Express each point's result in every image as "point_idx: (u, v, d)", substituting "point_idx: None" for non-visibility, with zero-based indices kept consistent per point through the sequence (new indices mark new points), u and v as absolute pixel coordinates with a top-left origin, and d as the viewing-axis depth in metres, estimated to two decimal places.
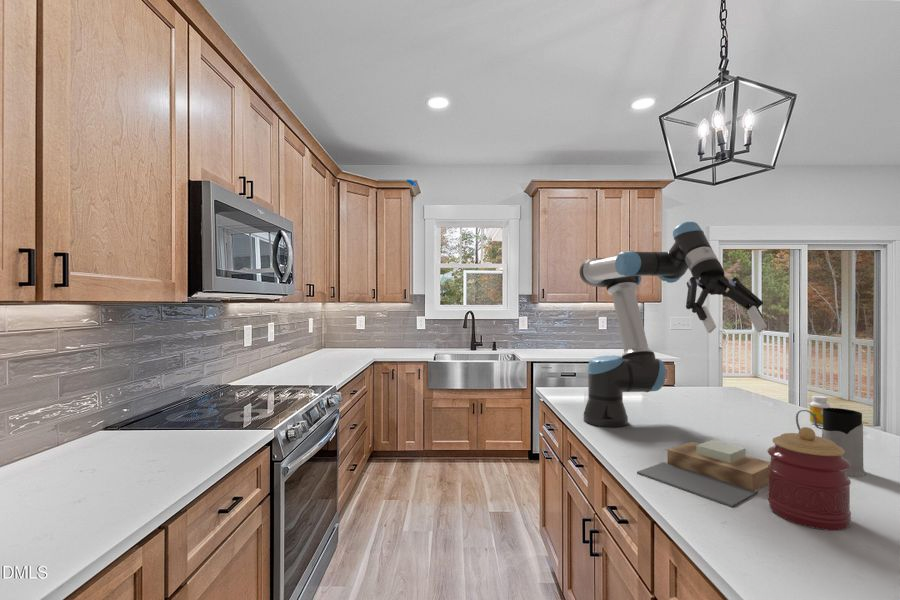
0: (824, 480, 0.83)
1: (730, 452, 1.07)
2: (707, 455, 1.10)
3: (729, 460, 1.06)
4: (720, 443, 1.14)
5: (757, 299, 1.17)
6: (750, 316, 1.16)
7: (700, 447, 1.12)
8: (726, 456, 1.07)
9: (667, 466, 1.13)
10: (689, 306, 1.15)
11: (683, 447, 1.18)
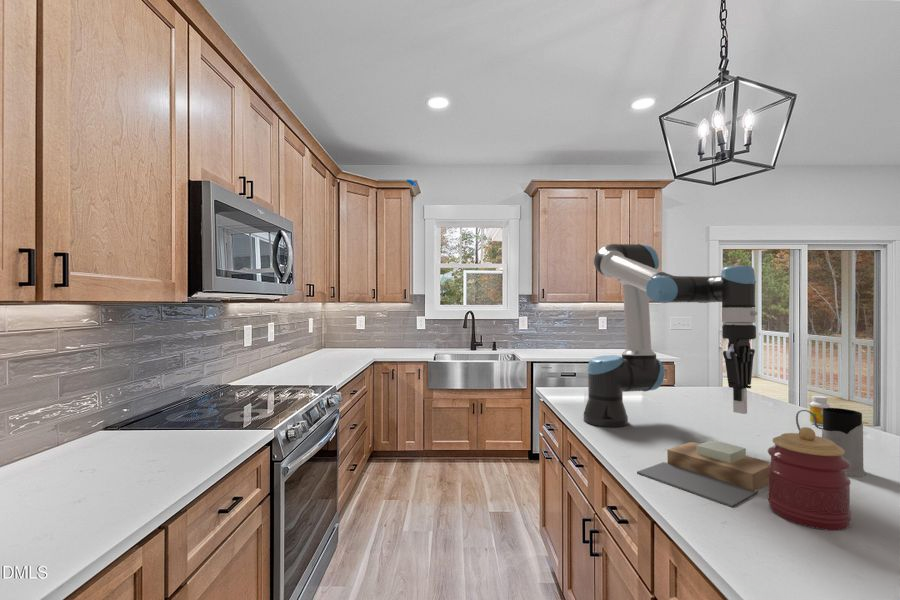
0: (824, 480, 0.83)
1: (730, 452, 1.07)
2: (707, 455, 1.10)
3: (729, 460, 1.06)
4: (720, 443, 1.14)
5: (750, 378, 1.18)
6: None
7: (700, 447, 1.12)
8: (726, 456, 1.07)
9: (667, 466, 1.13)
10: (733, 386, 1.15)
11: (683, 447, 1.18)
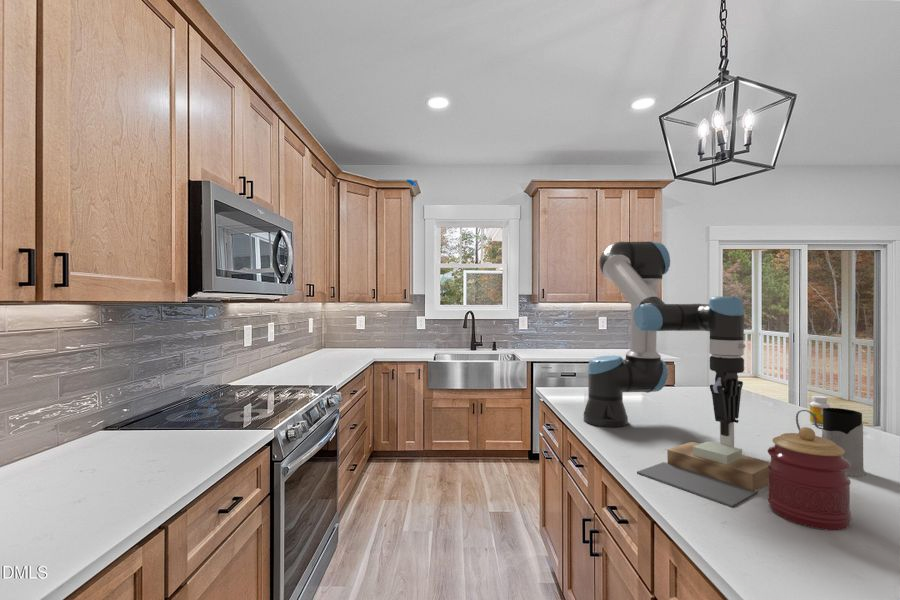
0: (824, 480, 0.83)
1: (727, 453, 1.06)
2: (703, 456, 1.09)
3: (726, 461, 1.05)
4: (717, 444, 1.13)
5: (737, 412, 1.14)
6: None
7: (696, 448, 1.11)
8: (722, 458, 1.06)
9: (667, 466, 1.13)
10: None
11: (683, 447, 1.18)
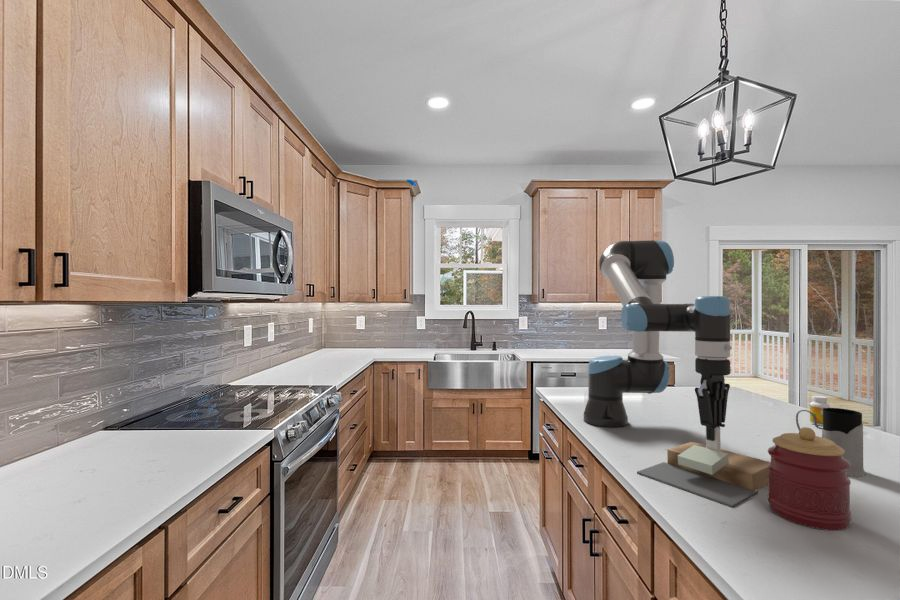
0: (824, 480, 0.83)
1: (712, 462, 1.02)
2: (689, 466, 1.05)
3: (711, 471, 1.01)
4: (702, 449, 1.09)
5: (724, 416, 1.10)
6: None
7: (681, 457, 1.07)
8: (708, 468, 1.02)
9: (667, 466, 1.13)
10: None
11: (683, 447, 1.18)
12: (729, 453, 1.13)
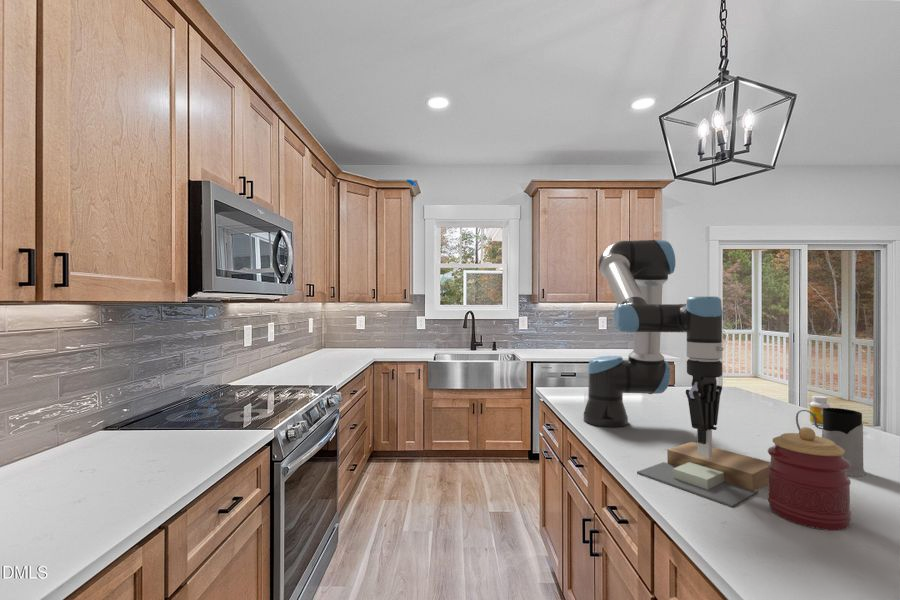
0: (824, 480, 0.83)
1: (707, 477, 1.01)
2: (684, 479, 1.04)
3: (706, 486, 1.00)
4: (698, 466, 1.08)
5: (716, 418, 1.08)
6: None
7: (676, 471, 1.05)
8: (703, 482, 1.00)
9: (667, 466, 1.13)
10: None
11: (683, 447, 1.18)
12: (729, 453, 1.13)
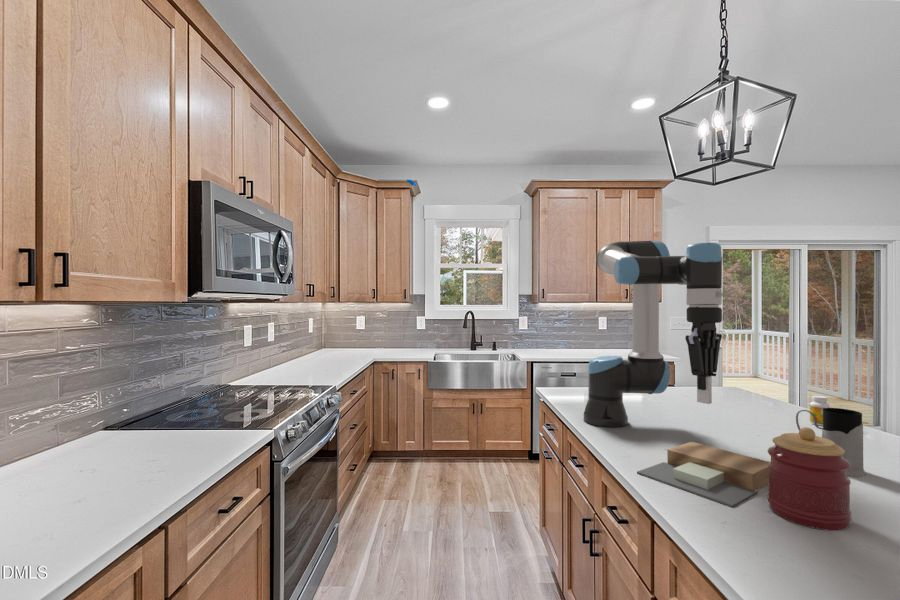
0: (824, 480, 0.83)
1: (707, 477, 1.01)
2: (684, 479, 1.04)
3: (706, 486, 1.00)
4: (698, 466, 1.08)
5: (715, 366, 1.08)
6: None
7: (676, 471, 1.05)
8: (703, 482, 1.00)
9: (667, 466, 1.13)
10: (697, 374, 1.06)
11: (683, 447, 1.18)
12: (729, 453, 1.13)
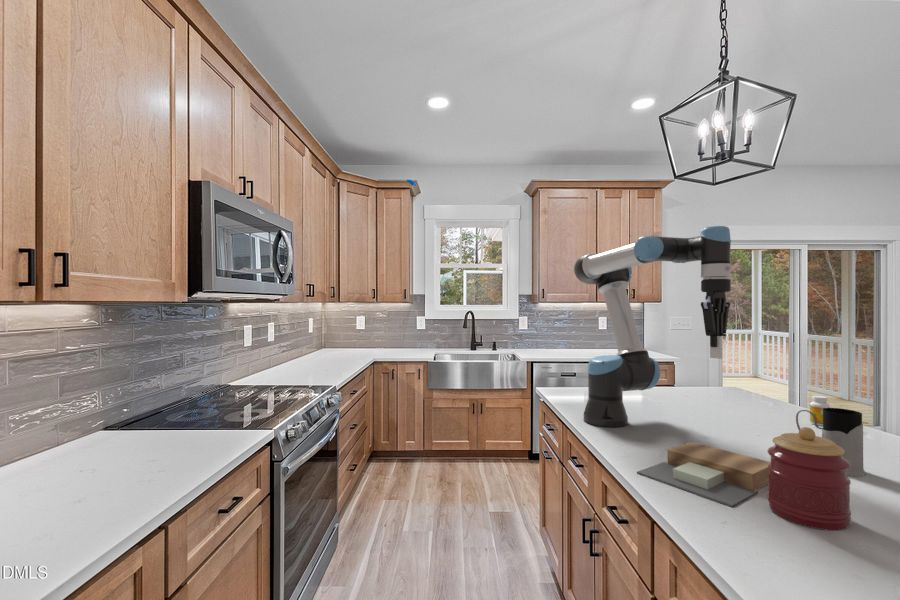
0: (824, 480, 0.83)
1: (707, 477, 1.01)
2: (684, 479, 1.04)
3: (706, 486, 1.00)
4: (698, 466, 1.08)
5: (725, 328, 1.31)
6: None
7: (676, 471, 1.05)
8: (703, 482, 1.00)
9: (667, 466, 1.13)
10: (710, 334, 1.29)
11: (683, 447, 1.18)
12: (729, 453, 1.13)
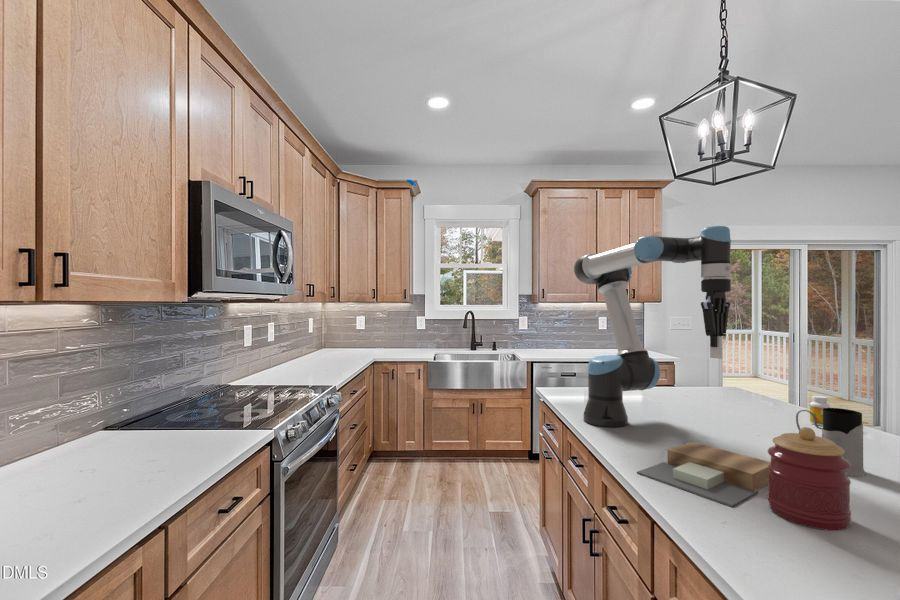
0: (824, 480, 0.83)
1: (707, 477, 1.01)
2: (684, 479, 1.04)
3: (706, 486, 1.00)
4: (698, 466, 1.08)
5: (725, 328, 1.31)
6: None
7: (676, 471, 1.05)
8: (703, 482, 1.00)
9: (667, 466, 1.13)
10: (710, 334, 1.29)
11: (683, 447, 1.18)
12: (729, 453, 1.13)
